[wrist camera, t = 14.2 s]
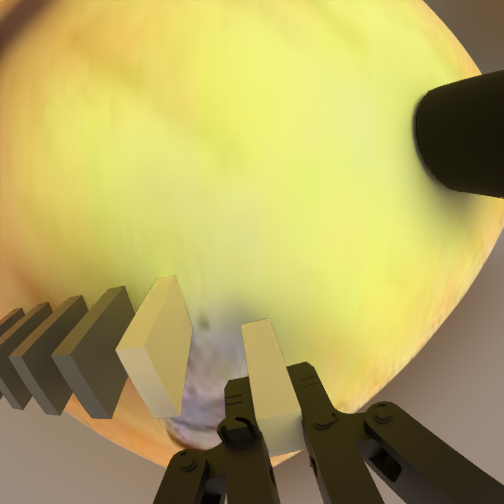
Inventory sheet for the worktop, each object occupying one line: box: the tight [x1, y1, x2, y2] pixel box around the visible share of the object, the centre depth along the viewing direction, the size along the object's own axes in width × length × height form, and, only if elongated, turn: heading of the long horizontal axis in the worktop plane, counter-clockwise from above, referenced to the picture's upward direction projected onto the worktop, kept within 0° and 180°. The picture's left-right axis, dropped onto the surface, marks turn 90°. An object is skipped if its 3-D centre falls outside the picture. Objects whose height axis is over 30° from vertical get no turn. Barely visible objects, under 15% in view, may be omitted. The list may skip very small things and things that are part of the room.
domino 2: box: [0, 302, 53, 410], centre depth 16 cm, size 2×5×10 cm, turn 11°
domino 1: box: [0, 308, 25, 399], centre depth 16 cm, size 2×5×10 cm, turn 12°
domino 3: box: [9, 295, 88, 415], centre depth 16 cm, size 2×5×10 cm, turn 12°
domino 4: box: [51, 286, 135, 419], centre depth 16 cm, size 2×5×10 cm, turn 12°
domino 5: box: [116, 275, 193, 418], centre depth 17 cm, size 2×5×10 cm, turn 11°
